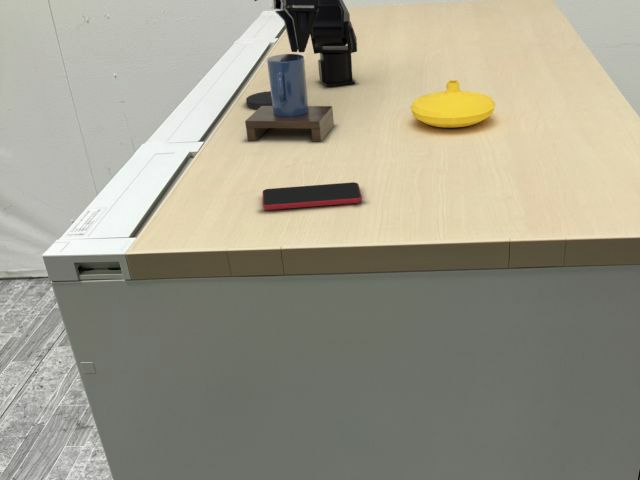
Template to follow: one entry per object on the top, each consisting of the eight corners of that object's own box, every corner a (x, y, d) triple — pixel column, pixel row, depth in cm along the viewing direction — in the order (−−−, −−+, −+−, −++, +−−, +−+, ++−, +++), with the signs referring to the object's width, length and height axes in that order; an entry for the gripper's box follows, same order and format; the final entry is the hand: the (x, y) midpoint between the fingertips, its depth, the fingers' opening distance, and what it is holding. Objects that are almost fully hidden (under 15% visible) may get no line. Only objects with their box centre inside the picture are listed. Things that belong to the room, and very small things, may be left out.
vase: (435, 140, 147) (435, 97, 142) (396, 119, 158) (395, 79, 153) (511, 125, 151) (513, 84, 147) (467, 106, 163) (468, 67, 158)
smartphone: (362, 198, 124) (262, 205, 123) (362, 204, 124) (263, 211, 123) (358, 181, 129) (262, 189, 128) (358, 187, 130) (263, 194, 129)
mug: (279, 106, 156) (273, 53, 150) (312, 106, 155) (307, 53, 149) (266, 119, 150) (259, 64, 144) (301, 119, 149) (295, 64, 143)
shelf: (263, 125, 159) (261, 105, 157) (333, 125, 157) (332, 106, 155) (247, 140, 152) (244, 120, 150) (321, 141, 149) (319, 121, 147)
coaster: (289, 94, 176) (288, 88, 175) (299, 106, 169) (298, 99, 168) (243, 100, 174) (242, 94, 174) (251, 112, 167) (250, 106, 166)
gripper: (244, -42, 156) (250, 52, 163) (254, -53, 140) (260, 52, 147) (302, -41, 158) (306, 52, 165) (319, -51, 142) (322, 52, 149)
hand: (297, 52), depth 157 cm, fingers open, 9 cm apart
